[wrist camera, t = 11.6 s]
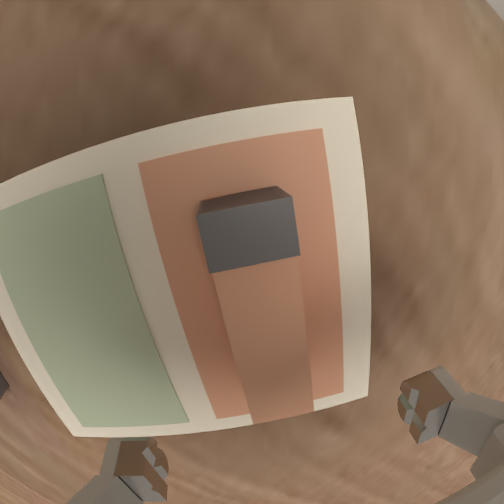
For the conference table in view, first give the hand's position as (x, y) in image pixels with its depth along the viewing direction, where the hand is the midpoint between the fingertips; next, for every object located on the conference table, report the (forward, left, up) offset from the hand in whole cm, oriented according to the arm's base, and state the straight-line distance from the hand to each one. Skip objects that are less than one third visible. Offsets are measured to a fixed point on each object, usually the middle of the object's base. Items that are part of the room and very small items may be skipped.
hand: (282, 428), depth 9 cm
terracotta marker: (0, 0, -9) cm, 9 cm away
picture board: (-5, 0, -10) cm, 11 cm away
